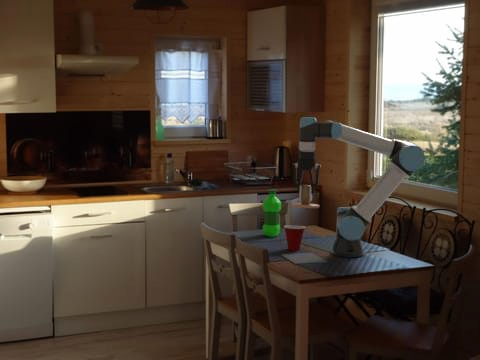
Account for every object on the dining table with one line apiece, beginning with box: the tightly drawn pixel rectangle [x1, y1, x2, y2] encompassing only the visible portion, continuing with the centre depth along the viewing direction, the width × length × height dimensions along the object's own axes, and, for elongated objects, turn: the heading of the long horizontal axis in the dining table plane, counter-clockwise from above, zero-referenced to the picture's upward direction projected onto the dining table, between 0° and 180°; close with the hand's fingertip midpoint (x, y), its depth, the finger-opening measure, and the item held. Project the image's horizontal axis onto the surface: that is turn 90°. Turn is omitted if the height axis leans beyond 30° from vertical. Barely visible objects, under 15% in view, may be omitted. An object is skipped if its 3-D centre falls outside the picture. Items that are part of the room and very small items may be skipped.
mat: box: [280, 252, 328, 265], centre depth 366 cm, size 18×16×1 cm
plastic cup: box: [283, 224, 306, 252], centre depth 385 cm, size 11×11×12 cm
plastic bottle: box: [262, 189, 282, 238], centre depth 415 cm, size 10×10×25 cm
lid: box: [290, 184, 320, 209], centre depth 362 cm, size 13×13×10 cm
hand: (305, 200), depth 362 cm, fingers closed on lid, 4 cm apart
